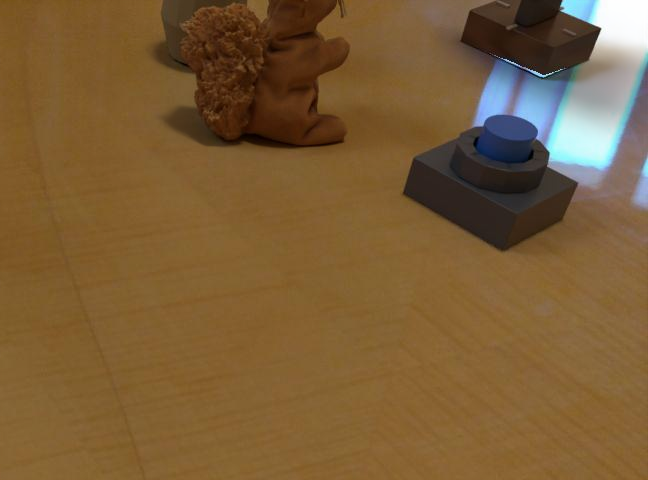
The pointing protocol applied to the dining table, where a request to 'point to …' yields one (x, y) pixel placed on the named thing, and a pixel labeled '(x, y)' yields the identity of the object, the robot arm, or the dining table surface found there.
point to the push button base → (490, 190)
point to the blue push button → (507, 139)
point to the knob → (536, 11)
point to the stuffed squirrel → (264, 70)
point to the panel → (530, 37)
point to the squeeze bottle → (184, 19)
